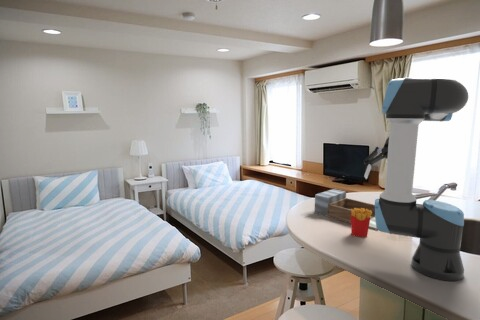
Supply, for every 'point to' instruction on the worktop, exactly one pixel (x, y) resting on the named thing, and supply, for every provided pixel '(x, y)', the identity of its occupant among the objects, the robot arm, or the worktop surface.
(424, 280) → the worktop surface
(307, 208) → the worktop surface
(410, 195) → the robot arm
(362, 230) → the french fries
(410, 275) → the worktop surface
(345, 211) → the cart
